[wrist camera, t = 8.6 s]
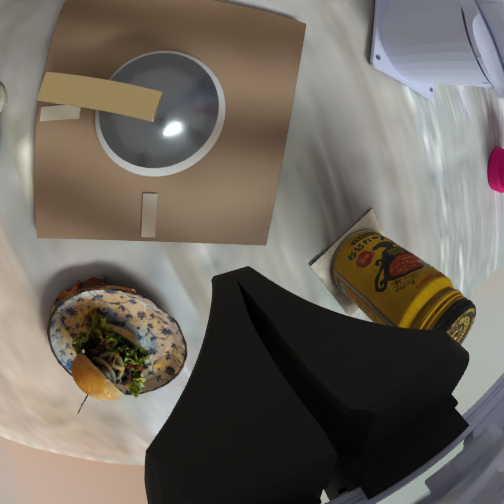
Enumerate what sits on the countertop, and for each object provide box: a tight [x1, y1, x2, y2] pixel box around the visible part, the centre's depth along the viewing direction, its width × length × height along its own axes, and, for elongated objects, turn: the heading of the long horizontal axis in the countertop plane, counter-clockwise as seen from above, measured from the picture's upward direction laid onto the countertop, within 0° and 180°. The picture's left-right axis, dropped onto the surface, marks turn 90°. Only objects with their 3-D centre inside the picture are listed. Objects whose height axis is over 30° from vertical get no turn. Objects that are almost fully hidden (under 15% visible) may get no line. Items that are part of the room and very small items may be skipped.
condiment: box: [310, 208, 476, 345], centre depth 19 cm, size 7×8×12 cm
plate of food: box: [47, 276, 187, 414], centre depth 17 cm, size 12×12×8 cm
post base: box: [34, 0, 306, 245], centre depth 14 cm, size 16×16×1 cm
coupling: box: [37, 53, 219, 168], centre depth 11 cm, size 9×6×4 cm, turn 69°
